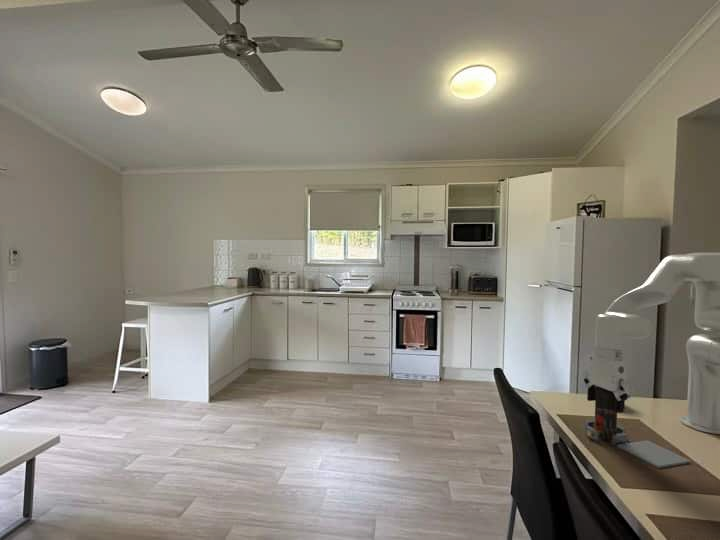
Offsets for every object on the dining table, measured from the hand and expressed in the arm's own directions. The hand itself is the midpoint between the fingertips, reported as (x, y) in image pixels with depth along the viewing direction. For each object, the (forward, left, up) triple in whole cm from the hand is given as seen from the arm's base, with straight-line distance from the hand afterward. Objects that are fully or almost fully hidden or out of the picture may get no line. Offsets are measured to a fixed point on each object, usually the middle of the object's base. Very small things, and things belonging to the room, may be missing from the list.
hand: (604, 406), depth 120 cm
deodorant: (-1, 0, -10) cm, 10 cm away
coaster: (-5, +12, -10) cm, 16 cm away
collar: (-1, 0, -10) cm, 10 cm away
